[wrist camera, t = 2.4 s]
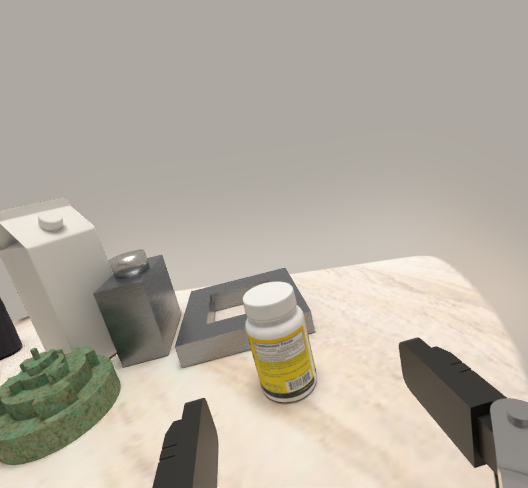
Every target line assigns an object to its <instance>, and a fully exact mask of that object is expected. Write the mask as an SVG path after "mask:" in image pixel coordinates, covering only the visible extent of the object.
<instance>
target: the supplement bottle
mask: <svg viewBox="0 0 528 488" xmlns="http://www.w3.org/2000/svg"><path fill="white" fill-rule="evenodd" d="M243 304H244V308H245V313H246V315H247V317H248V318H247V320H246V324H245V328H246V332H247V336H248V340H249V344H250V347H251V350H252V354H253V358H254V361H255V365H256V368H257V372H258V376H259V379H260V383H261V386H262V389H263V391H264V393H265V394H266V395H267V396H268V397H269V398H270V399H272V400H274V401H278V402H292V401H296V400H299V399H301V398H303V397H305V396H306V395H308V394H309V393H310V392H311V391H312V389H313V388H314V386H315V384H316V380H317V374H316V368H315V364H314V360H313V355H312V351H311V346H310V342H309V337H308V332H307V327H306V323H305V317H304V314H303V311H302V310H301V308H300V307H299V306H298V305H296V304H297V303H296V298H295V294H294V290H293V287H292V286H291V285H290V284H288V283H286V282H268V283H264V284H261V285H258V286H255V287H253V288H252V289H250V290H248V291H247V292H246V293H245V294H244V296H243Z"/></svg>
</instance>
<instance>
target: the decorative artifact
mask: <svg viewBox="0 0 528 488" xmlns="http://www.w3.org/2000/svg"><path fill="white" fill-rule="evenodd" d="M30 351H31V353H32V356H33V357H32V358H30V359H26V360H25V361H24V362H22V363H21V364H20V368H21V369H22V371H21V372H20V373H19V375H16V376H14V377H11V378H9V379H8V380H7V381H6V382H5V383H4V384H3V385H2V386H1V387H0V461H1V462H2V463H5V464H10V465H17V464H24V463H28V462H32V461H35V460H38V459H41V458H43V457H45V456H48V455H50V454H52V453H54V452H56V451H58V450H60V449H62V448H63V447H65V446H67V445H68V444H70V443H72V442H73V441H75V440H76V439H78V438H79V437H80V436H82V435H83V434H84V433H86V432H87V431H88V430H89V429H91V428H92V427H93V426H94V425H95V424H96V423H97V422H98V421H100V420H101V419H102V417H103V416H104V415H105V414H106V413H107V412H108V411H109V410H110V408H111V407H112V406H113V404H114V402H115V401H116V399H117V397H118V395H119V392H120V381H119V379H118V377H117V374H116V372H115V369H114V367H113V365H112V362H111V360H110V359H109V358H108V357H106V356H102V355H96V353H95V350H94V349H93V348H90V347H77V348H76V349H75V350H74V351H73V352H71V353H68V354H64V353H63V351H62V349H58V350H55V349H50V350H49V351H47V352H43V353H40V354H39V352H38V350H37V348H33V349H31V350H30Z"/></svg>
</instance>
